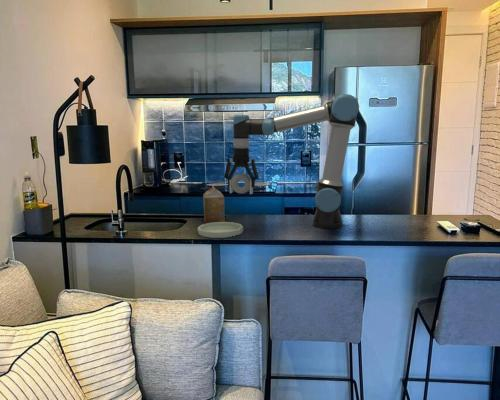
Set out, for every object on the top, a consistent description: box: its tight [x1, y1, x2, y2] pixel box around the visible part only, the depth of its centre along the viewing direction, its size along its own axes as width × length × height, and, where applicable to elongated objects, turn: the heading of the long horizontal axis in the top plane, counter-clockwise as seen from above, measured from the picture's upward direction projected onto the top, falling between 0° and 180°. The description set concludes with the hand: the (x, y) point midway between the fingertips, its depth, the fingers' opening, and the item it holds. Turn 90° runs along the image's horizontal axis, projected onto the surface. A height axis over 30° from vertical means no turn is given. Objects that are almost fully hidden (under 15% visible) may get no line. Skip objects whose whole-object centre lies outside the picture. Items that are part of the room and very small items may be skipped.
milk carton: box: [202, 185, 226, 224], centre depth 231 cm, size 11×11×19 cm
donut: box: [231, 173, 251, 195], centre depth 208 cm, size 10×3×10 cm, turn 89°
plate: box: [197, 221, 244, 239], centre depth 208 cm, size 22×22×2 cm
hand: (241, 193), depth 209 cm, fingers closed on donut, 10 cm apart
